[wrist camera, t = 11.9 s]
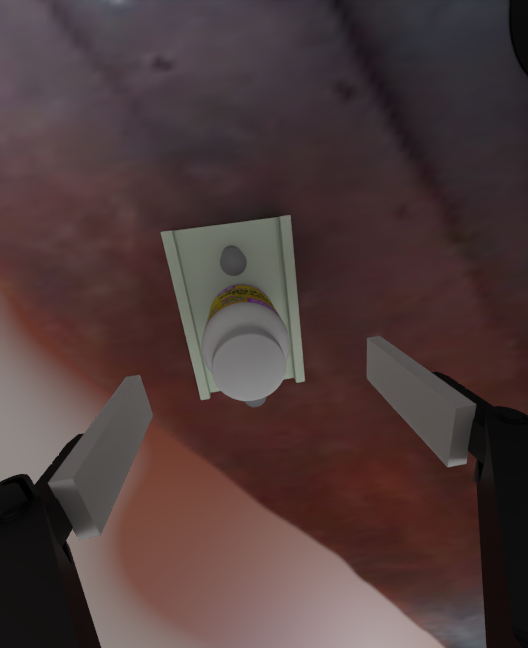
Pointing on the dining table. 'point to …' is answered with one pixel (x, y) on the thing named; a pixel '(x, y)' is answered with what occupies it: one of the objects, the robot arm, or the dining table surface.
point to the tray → (234, 281)
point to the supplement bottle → (245, 343)
